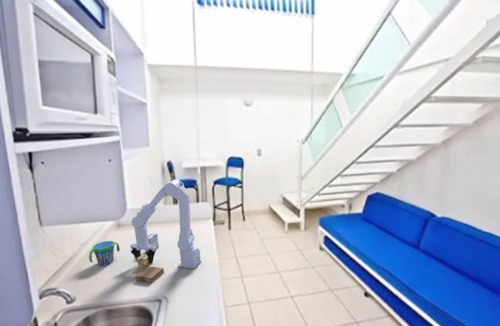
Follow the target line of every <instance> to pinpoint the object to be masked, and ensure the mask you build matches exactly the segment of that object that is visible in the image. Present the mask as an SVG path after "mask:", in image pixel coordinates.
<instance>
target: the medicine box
mask: <svg viewBox="0 0 500 326" xmlns="http://www.w3.org/2000/svg"><path fill="white" fill-rule="evenodd" d="M148 242H149V244H151V245H153V246H156V250H157V249H158V248H159V247H160V245H159V238H158V233H149V234H148ZM147 251H149V250H144V254H146V252H147Z"/></svg>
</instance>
